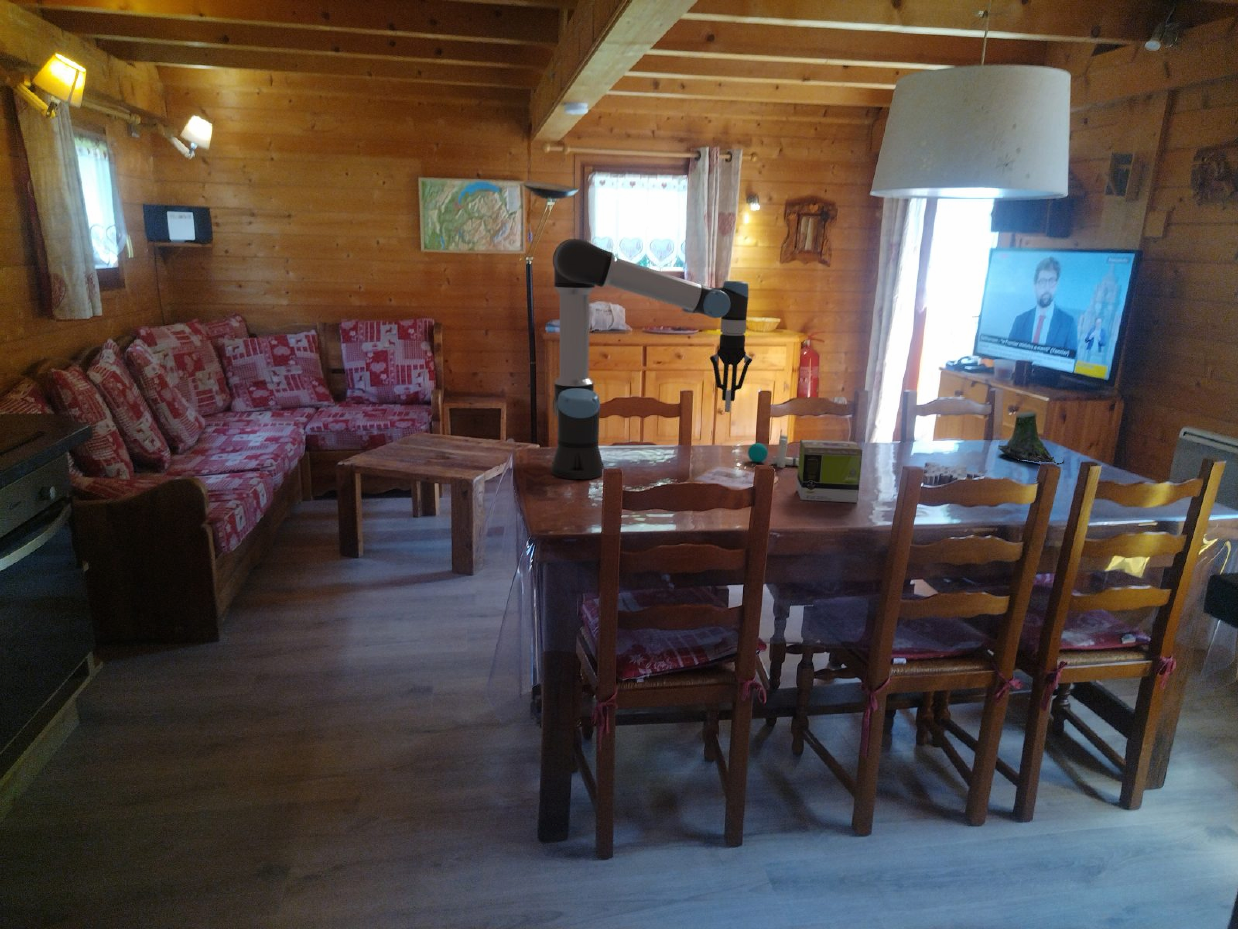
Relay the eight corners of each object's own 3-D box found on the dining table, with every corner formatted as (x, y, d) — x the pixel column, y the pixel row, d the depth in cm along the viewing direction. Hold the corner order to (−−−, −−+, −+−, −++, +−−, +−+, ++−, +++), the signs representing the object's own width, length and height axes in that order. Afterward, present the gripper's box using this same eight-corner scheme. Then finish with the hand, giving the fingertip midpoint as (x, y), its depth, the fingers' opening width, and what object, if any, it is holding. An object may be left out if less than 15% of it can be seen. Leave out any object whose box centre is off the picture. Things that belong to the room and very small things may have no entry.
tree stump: (1077, 467, 259) (1075, 414, 253) (1015, 480, 260) (1011, 428, 254) (1048, 451, 276) (1045, 400, 271) (989, 463, 277) (985, 413, 272)
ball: (773, 458, 248) (757, 469, 250) (768, 447, 253) (752, 458, 255) (763, 446, 245) (747, 457, 247) (757, 435, 250) (742, 447, 252)
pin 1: (776, 462, 251) (778, 435, 249) (780, 461, 253) (782, 434, 250) (782, 464, 249) (785, 437, 247) (786, 462, 251) (789, 436, 249)
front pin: (773, 455, 248) (801, 457, 246) (773, 457, 250) (801, 459, 249) (772, 462, 247) (800, 464, 246) (772, 465, 250) (800, 467, 248)
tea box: (851, 493, 222) (856, 440, 218) (857, 504, 212) (864, 449, 208) (795, 489, 223) (800, 437, 219) (799, 500, 214) (804, 446, 210)
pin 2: (775, 466, 246) (777, 439, 244) (779, 465, 248) (782, 438, 246) (782, 468, 245) (784, 440, 242) (786, 466, 246) (788, 439, 244)
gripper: (755, 333, 244) (749, 410, 250) (712, 331, 247) (708, 407, 253) (753, 336, 237) (747, 415, 243) (709, 333, 240) (704, 411, 246)
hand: (727, 411), depth 248 cm, fingers closed
